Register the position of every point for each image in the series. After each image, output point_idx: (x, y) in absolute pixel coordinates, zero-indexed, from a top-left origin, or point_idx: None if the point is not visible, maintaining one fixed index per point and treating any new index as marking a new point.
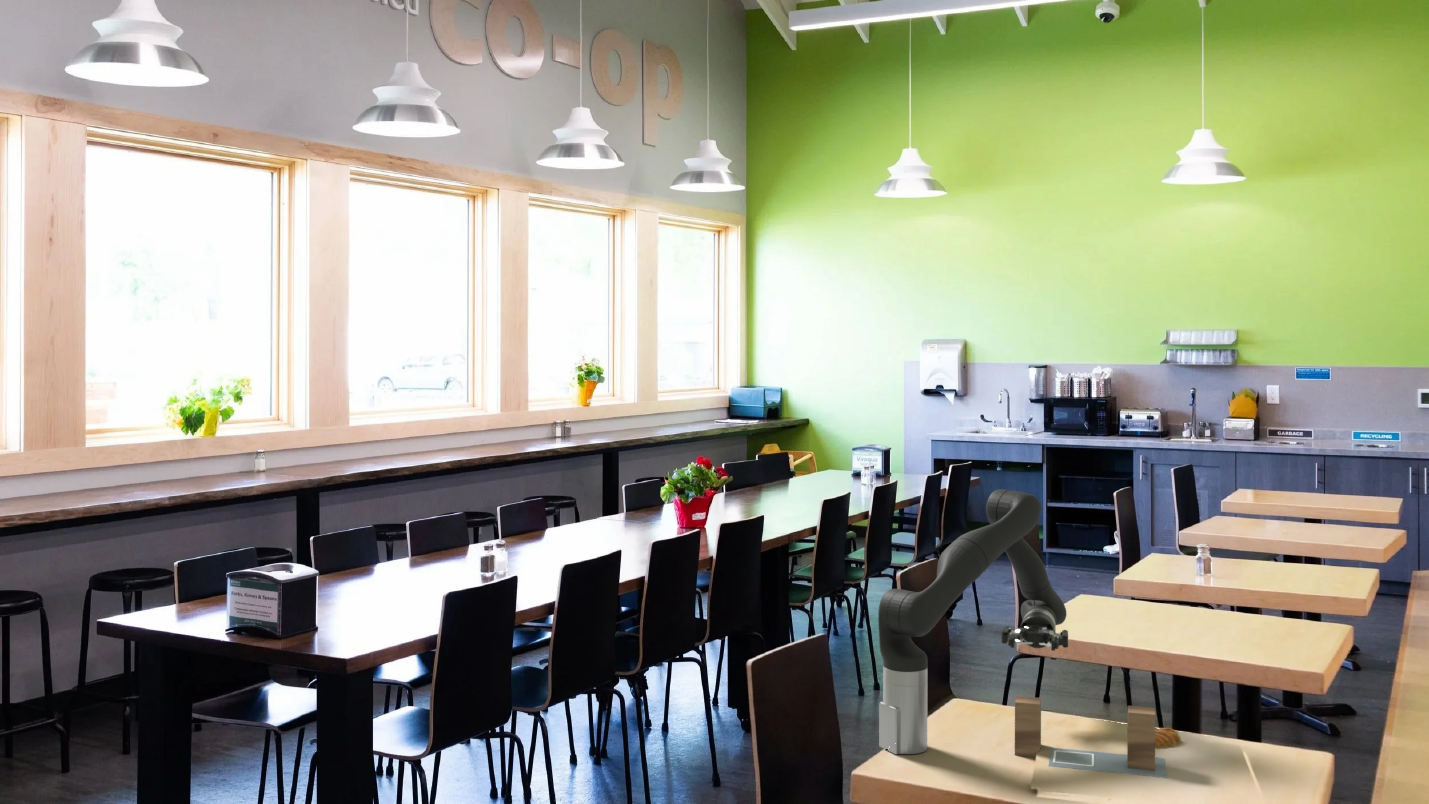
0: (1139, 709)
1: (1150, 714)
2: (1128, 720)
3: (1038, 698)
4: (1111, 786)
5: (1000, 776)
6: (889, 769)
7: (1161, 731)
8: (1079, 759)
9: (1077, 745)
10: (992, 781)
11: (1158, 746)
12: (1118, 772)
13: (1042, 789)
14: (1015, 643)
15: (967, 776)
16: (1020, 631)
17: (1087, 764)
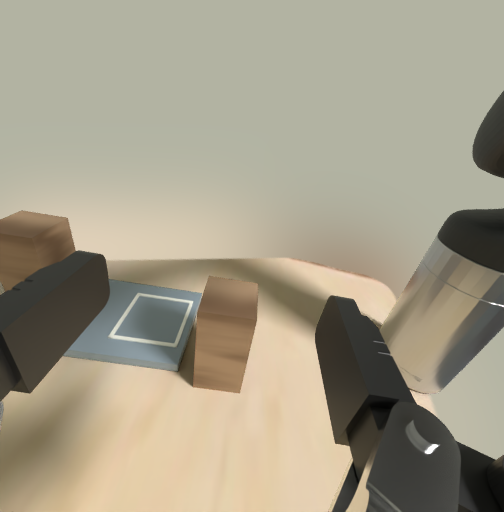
0: (26, 225)
1: (29, 212)
2: (69, 230)
3: (205, 307)
4: (136, 270)
5: (259, 286)
6: (373, 294)
7: None
8: (147, 315)
9: (91, 439)
10: (266, 275)
11: None
12: (112, 280)
13: (217, 263)
14: (337, 432)
15: (293, 284)
16: (361, 499)
17: (143, 300)
